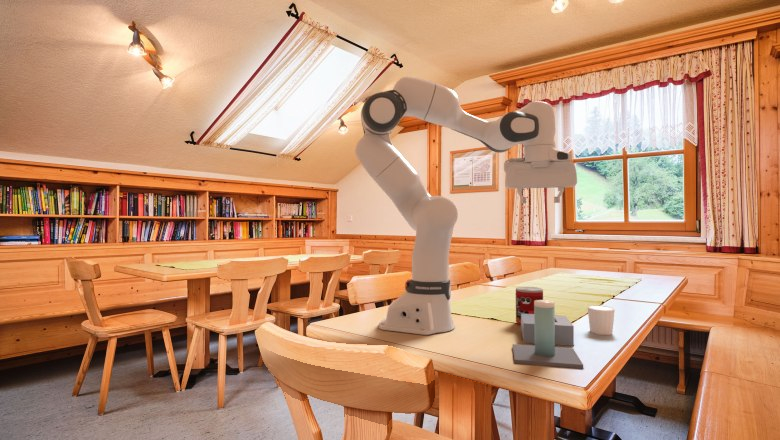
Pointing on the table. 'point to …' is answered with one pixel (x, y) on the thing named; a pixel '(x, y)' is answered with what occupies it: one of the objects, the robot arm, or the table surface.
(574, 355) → the mat
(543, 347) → the cylinder
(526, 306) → the canned food
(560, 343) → the block
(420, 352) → the table surface
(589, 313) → the white cup
